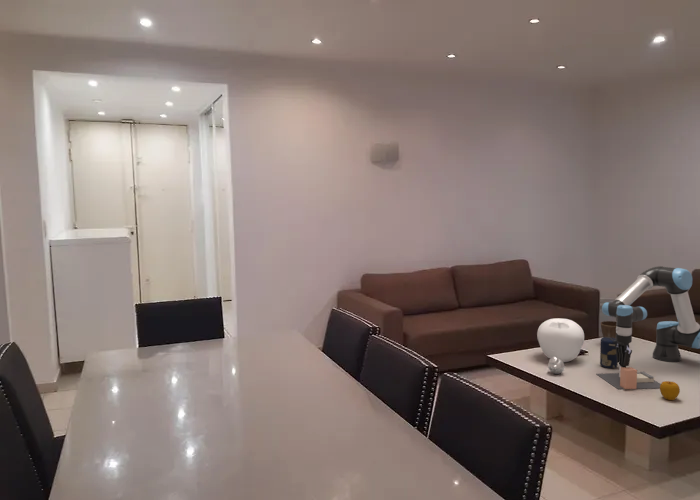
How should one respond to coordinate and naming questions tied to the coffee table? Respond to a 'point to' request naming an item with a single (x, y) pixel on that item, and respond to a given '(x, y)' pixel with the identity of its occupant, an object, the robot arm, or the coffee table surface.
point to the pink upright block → (628, 378)
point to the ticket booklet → (644, 377)
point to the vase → (560, 338)
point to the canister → (608, 352)
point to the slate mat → (615, 381)
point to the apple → (669, 390)
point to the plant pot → (608, 329)
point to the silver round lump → (556, 365)
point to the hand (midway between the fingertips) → (622, 377)
